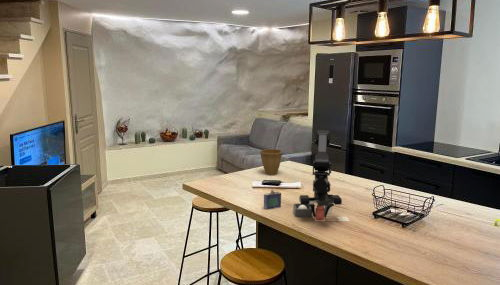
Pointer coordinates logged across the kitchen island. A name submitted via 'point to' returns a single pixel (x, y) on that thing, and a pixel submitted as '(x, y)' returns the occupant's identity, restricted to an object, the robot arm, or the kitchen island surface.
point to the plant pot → (271, 160)
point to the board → (334, 219)
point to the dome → (302, 207)
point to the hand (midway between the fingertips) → (319, 217)
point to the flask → (272, 200)
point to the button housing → (302, 211)
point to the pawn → (319, 213)
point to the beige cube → (329, 210)
